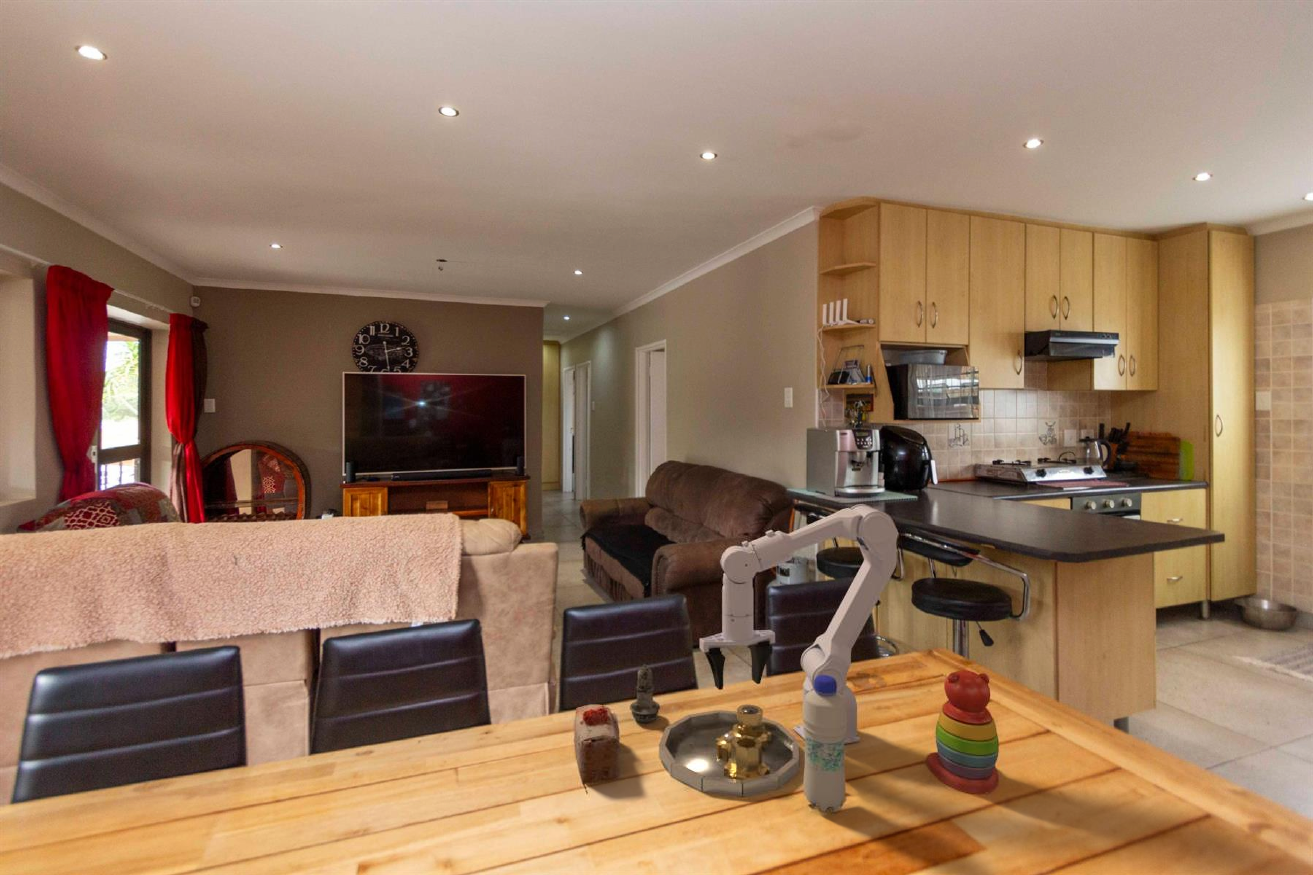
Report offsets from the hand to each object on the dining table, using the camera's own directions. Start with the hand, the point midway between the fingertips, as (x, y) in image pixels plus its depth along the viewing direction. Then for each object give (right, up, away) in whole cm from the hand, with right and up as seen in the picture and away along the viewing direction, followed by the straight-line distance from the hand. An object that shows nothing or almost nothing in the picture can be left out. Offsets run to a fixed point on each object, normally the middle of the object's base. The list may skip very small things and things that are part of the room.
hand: (737, 684), depth 118 cm
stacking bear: (+36, -11, -13) cm, 40 cm away
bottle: (+11, -11, -20) cm, 25 cm away
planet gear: (0, -9, -14) cm, 17 cm away
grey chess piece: (-17, -10, +5) cm, 21 cm away
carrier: (-3, -10, -8) cm, 13 cm away
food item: (-25, -11, -9) cm, 29 cm away
